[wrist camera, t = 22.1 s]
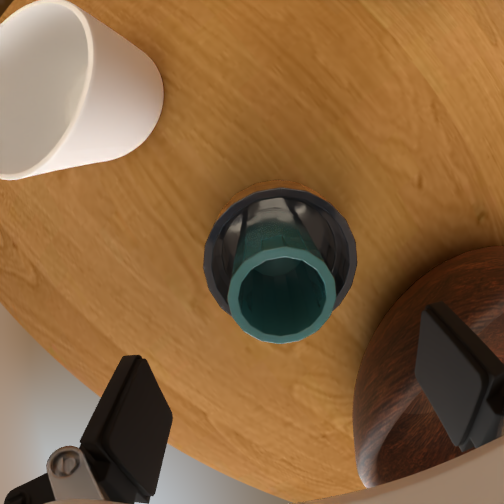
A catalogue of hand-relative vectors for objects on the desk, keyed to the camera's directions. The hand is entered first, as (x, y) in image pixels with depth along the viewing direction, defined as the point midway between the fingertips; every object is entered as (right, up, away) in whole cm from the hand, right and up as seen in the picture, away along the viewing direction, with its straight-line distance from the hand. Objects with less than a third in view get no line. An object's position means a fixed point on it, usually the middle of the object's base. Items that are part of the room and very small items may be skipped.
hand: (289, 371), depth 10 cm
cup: (0, +4, +12) cm, 13 cm away
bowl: (+1, +4, +13) cm, 14 cm away
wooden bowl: (+18, -5, +16) cm, 25 cm away
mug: (-13, +14, +10) cm, 22 cm away
